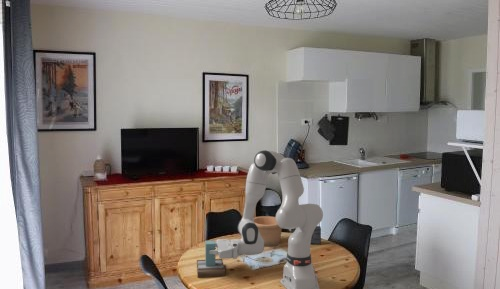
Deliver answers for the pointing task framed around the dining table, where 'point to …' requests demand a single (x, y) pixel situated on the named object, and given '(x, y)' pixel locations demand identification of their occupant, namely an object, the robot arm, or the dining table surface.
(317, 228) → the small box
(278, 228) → the pottery
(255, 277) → the dining table surface
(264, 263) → the dining table surface
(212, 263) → the teal block
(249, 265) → the dining table surface
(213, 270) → the base plinth
